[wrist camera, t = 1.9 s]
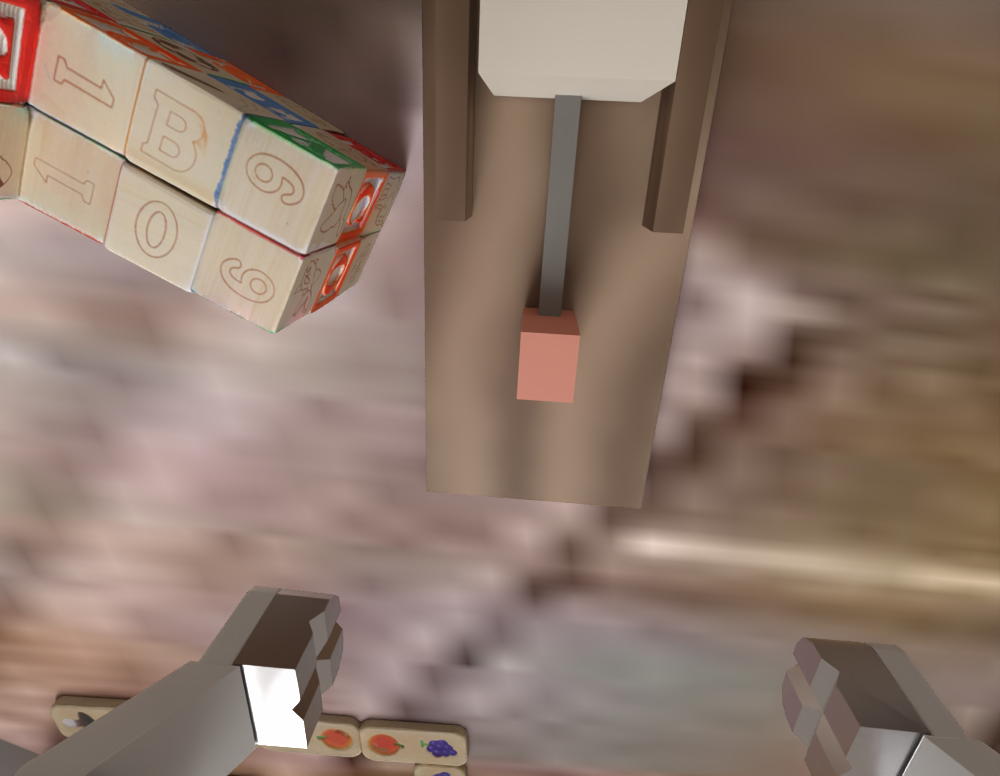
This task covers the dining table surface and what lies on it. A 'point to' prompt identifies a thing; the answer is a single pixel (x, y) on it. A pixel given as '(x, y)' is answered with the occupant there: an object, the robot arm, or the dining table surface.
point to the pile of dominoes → (328, 737)
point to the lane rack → (588, 271)
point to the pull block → (571, 128)
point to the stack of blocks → (183, 160)
